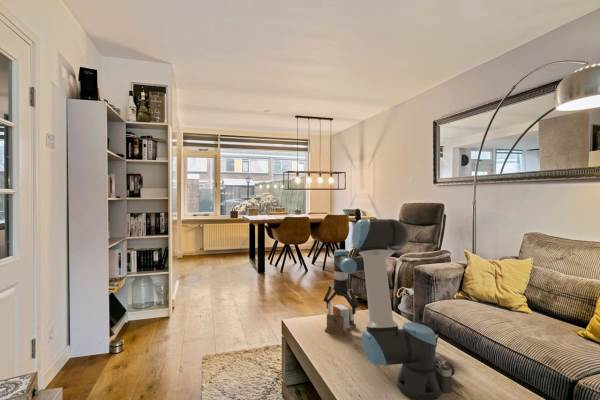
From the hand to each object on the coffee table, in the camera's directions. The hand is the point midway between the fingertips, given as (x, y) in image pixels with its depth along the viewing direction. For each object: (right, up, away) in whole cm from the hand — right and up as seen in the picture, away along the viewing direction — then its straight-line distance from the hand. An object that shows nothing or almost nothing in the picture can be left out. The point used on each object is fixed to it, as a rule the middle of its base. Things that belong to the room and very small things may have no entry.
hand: (340, 317), depth 173 cm
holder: (0, -6, 0) cm, 6 cm away
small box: (0, -5, 0) cm, 5 cm away
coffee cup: (+37, -7, -26) cm, 45 cm away
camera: (+33, -7, -48) cm, 59 cm away
